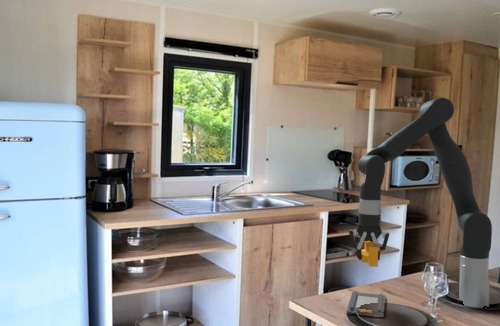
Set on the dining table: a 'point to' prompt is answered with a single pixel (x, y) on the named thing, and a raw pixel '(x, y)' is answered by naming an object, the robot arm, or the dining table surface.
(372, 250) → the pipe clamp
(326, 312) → the dining table surface
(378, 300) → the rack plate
